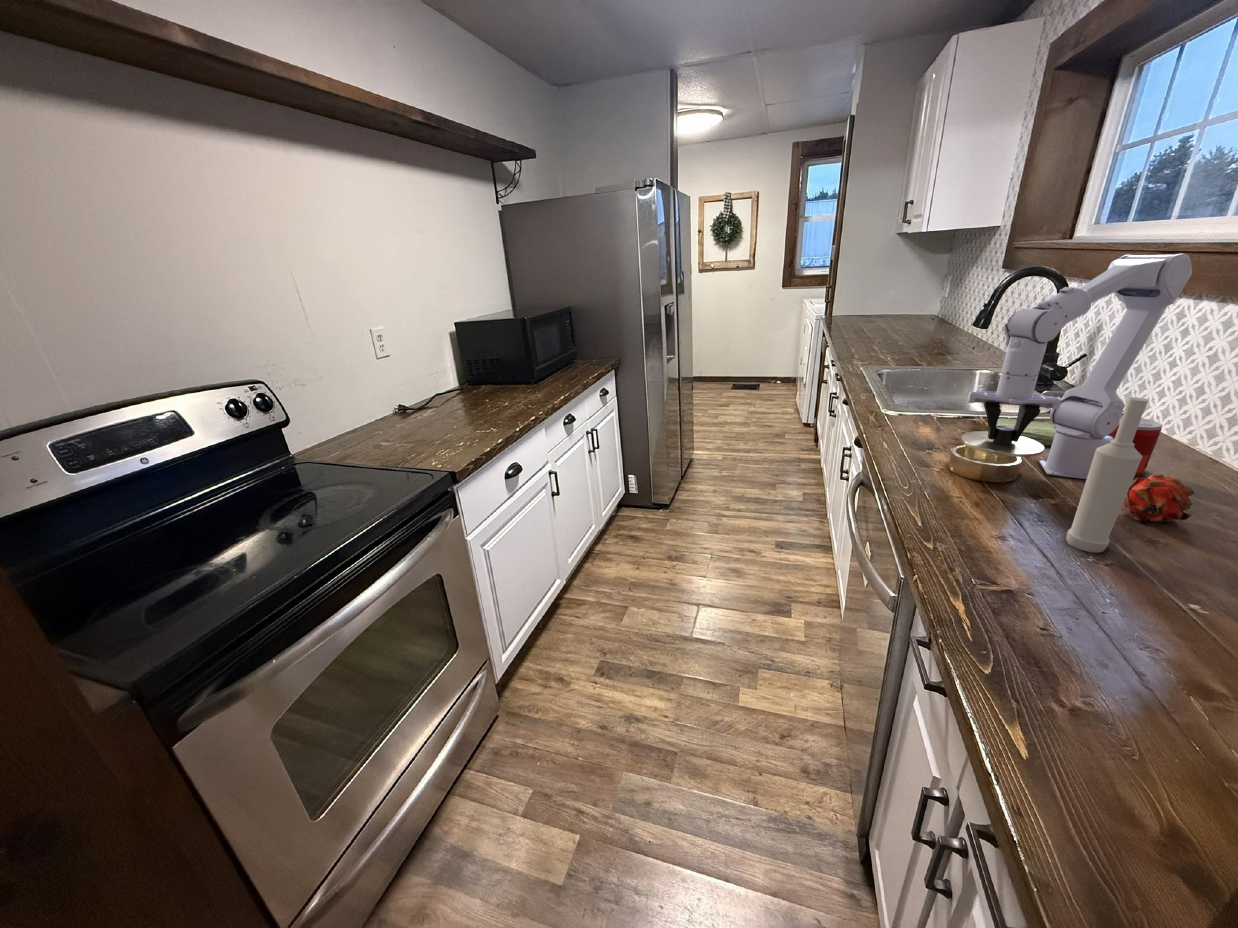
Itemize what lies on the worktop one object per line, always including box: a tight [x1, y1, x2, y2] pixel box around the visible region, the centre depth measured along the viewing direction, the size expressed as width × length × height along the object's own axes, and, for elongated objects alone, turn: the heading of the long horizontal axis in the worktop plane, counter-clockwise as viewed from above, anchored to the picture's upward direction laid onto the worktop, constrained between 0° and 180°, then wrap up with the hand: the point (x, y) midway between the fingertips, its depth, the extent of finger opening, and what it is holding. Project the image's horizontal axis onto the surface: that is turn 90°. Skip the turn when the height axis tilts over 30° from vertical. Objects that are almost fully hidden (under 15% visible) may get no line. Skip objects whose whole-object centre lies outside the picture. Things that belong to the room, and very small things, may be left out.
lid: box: [960, 425, 1045, 458], centre depth 101 cm, size 14×14×4 cm
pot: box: [948, 444, 1023, 484], centre depth 110 cm, size 13×13×4 cm
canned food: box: [1107, 416, 1163, 477], centre depth 106 cm, size 8×8×11 cm
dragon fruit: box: [1124, 473, 1195, 523], centre depth 88 cm, size 8×8×12 cm
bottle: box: [1065, 396, 1149, 554], centre depth 78 cm, size 5×5×25 cm
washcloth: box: [996, 417, 1056, 447], centre depth 128 cm, size 13×18×3 cm
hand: (1002, 439), depth 101 cm, fingers closed on lid, 3 cm apart
